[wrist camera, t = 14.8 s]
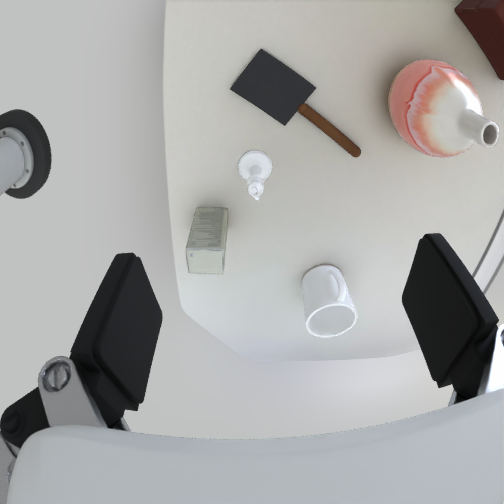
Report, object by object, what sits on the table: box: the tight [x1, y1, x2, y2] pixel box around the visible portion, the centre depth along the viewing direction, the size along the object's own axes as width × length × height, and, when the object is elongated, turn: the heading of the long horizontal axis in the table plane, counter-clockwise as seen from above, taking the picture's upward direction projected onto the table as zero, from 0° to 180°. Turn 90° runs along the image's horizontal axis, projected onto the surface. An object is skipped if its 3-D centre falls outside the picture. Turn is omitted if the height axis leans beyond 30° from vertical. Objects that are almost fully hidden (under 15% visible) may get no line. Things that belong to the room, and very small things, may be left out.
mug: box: [302, 265, 357, 337], centre depth 51 cm, size 11×9×10 cm
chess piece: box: [238, 151, 272, 201], centre depth 39 cm, size 5×5×10 cm
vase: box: [388, 59, 499, 158], centre depth 28 cm, size 14×14×18 cm
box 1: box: [186, 208, 228, 274], centre depth 44 cm, size 5×4×11 cm
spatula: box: [230, 49, 361, 157], centre depth 37 cm, size 20×7×2 cm, turn 55°
